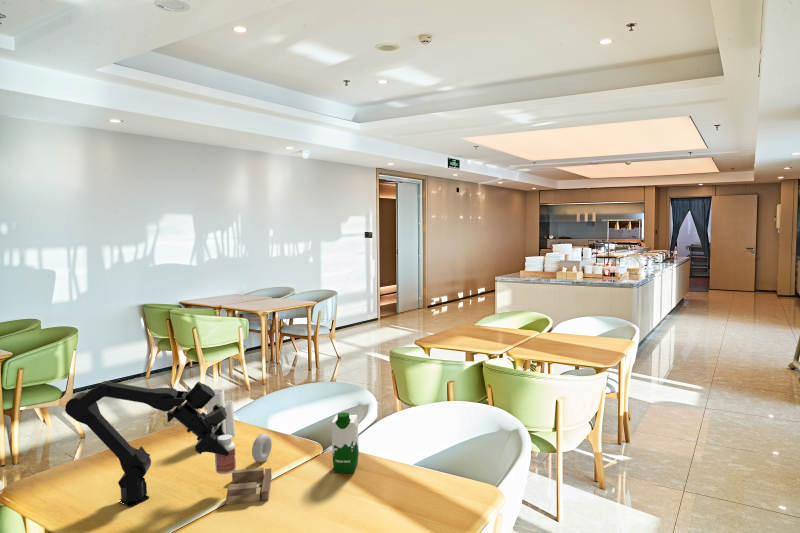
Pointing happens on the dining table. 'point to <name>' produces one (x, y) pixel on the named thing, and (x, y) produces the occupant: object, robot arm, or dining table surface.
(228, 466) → the pill bottle
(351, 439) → the milk carton
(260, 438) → the grey rounded piece
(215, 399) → the vase
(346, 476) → the dining table surface
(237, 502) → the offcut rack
